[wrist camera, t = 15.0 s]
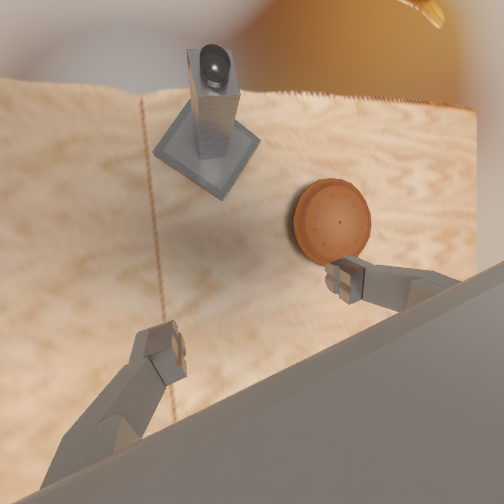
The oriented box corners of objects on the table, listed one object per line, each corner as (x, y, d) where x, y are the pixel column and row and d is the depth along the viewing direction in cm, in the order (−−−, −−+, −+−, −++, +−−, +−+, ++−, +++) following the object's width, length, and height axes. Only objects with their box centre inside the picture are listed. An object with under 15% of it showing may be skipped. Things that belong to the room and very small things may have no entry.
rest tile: (154, 155, 29) (152, 151, 28) (197, 94, 31) (196, 88, 29) (222, 201, 32) (223, 199, 31) (258, 143, 33) (260, 139, 32)
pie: (267, 227, 34) (278, 224, 30) (320, 167, 37) (337, 155, 32) (324, 282, 38) (342, 287, 33) (368, 223, 40) (391, 220, 35)
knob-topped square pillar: (200, 159, 30) (197, 85, 16) (193, 133, 30) (185, 34, 16) (225, 156, 31) (243, 84, 17) (219, 131, 30) (232, 36, 17)
